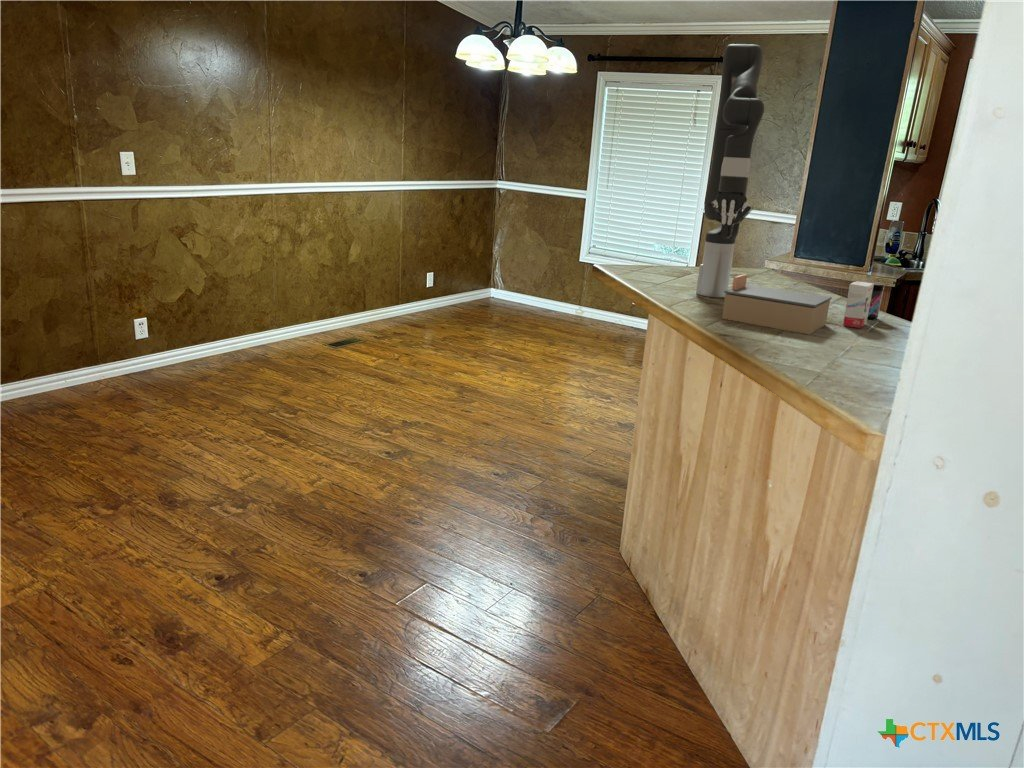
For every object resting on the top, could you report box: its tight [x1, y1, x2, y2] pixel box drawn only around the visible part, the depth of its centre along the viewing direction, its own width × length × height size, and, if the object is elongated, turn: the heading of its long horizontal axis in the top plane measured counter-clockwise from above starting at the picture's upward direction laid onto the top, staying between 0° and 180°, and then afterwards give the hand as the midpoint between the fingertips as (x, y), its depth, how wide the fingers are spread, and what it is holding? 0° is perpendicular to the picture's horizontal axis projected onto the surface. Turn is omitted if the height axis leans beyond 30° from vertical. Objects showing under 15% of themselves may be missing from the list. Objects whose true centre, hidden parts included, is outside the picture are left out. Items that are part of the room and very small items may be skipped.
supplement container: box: [859, 280, 885, 321], centre depth 216 cm, size 7×7×10 cm
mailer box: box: [721, 293, 831, 335], centre depth 205 cm, size 24×16×7 cm, turn 54°
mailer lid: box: [725, 273, 832, 307], centre depth 203 cm, size 24×16×4 cm
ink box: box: [842, 281, 874, 329], centre depth 205 cm, size 9×5×12 cm, turn 144°
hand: (726, 238), depth 209 cm, fingers closed
